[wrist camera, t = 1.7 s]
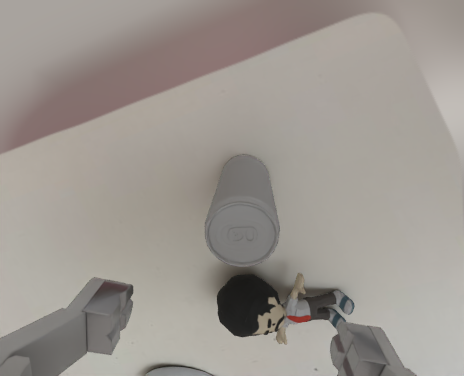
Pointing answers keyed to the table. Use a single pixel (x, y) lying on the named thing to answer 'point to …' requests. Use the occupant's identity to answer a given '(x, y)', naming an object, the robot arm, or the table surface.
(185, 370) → the boot
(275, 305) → the figurine
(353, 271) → the table surface
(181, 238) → the table surface
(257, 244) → the beverage can
